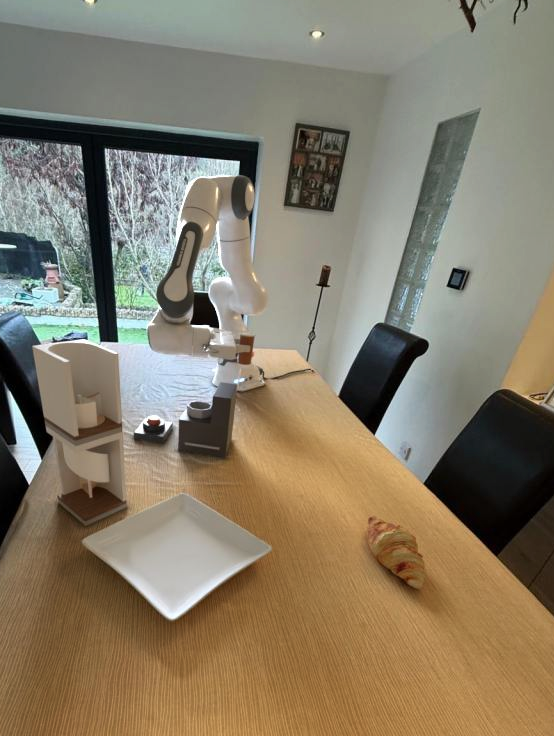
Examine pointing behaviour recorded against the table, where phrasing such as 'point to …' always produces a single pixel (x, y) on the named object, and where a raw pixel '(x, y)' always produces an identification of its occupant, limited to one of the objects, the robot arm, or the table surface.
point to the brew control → (153, 431)
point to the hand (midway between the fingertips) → (249, 346)
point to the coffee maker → (209, 424)
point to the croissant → (396, 551)
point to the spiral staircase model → (84, 425)
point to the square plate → (176, 552)
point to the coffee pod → (246, 339)
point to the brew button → (153, 420)
